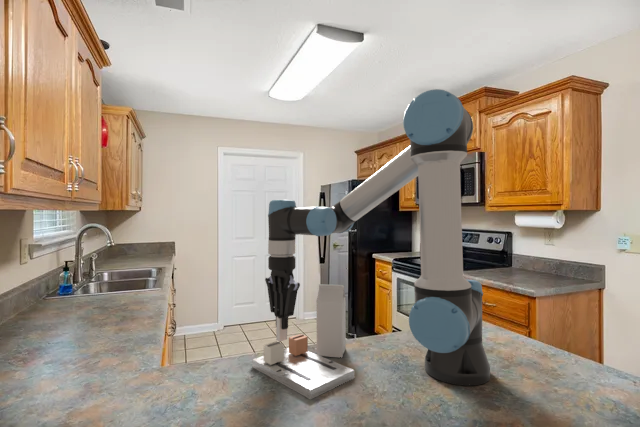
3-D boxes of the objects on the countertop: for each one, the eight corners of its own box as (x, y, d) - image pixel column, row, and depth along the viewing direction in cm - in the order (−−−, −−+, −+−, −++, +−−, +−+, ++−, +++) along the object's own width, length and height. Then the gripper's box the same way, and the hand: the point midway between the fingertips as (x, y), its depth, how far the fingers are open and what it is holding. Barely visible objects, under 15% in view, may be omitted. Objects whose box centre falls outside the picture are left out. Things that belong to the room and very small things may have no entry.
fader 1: (283, 360, 91) (283, 343, 91) (270, 364, 88) (270, 347, 88) (276, 356, 93) (276, 340, 93) (263, 361, 90) (263, 343, 90)
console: (354, 378, 86) (354, 369, 86) (310, 399, 76) (310, 389, 76) (295, 352, 102) (294, 345, 102) (252, 367, 92) (252, 359, 92)
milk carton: (342, 358, 98) (342, 288, 98) (316, 356, 99) (316, 286, 99) (345, 348, 105) (345, 282, 105) (321, 346, 106) (321, 282, 106)
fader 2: (307, 351, 96) (307, 335, 96) (296, 355, 94) (296, 339, 94) (300, 348, 99) (300, 332, 99) (288, 352, 96) (288, 336, 96)
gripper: (307, 256, 99) (307, 342, 99) (278, 252, 109) (278, 331, 109) (285, 258, 94) (285, 349, 94) (257, 254, 103) (257, 336, 103)
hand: (281, 339), depth 101 cm, fingers closed
